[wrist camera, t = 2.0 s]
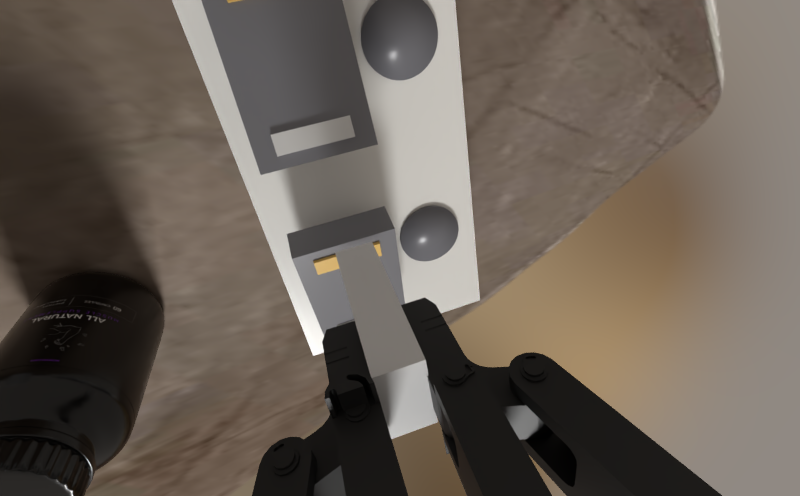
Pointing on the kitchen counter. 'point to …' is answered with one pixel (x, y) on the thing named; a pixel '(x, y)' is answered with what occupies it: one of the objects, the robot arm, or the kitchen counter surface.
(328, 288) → the rocker
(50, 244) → the kitchen counter surface
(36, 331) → the supplement bottle
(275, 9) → the rocker
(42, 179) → the kitchen counter surface
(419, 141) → the power strip
